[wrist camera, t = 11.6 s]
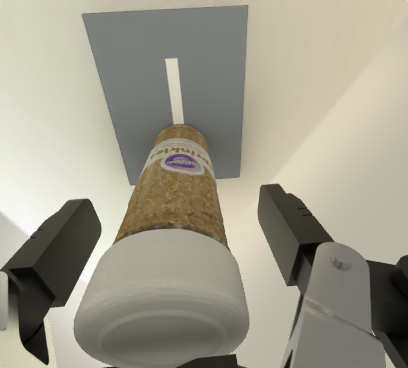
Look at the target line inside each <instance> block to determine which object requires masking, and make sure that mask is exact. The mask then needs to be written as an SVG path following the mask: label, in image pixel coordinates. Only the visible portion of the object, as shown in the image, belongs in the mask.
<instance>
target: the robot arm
mask: <svg viewBox="0 0 408 368" xmlns="http://www.w3.org/2000/svg"><path fill="white" fill-rule="evenodd" d="M258 220H259V223H260V226H261V228H262V230H263V232H264V235H265V237H266V239H267V242H268V243H269V246H270V248H271V251H272V253H273V255H274V257H275V260H276V262H277V264H278V266H279V269H280V271H281V273H282V276H283V278H284V280H285V283H286V285H287V286H296V285H297V286H298V288H299V290H300V292H301V293H300V296H299V300H298V304H297V308H296V312H295V316H294V320H293V323H292V327H291V332H290V335H289V339H288V344H287V347H286V350H285V353H284V356H283V360H282V363H281V367H280V368H386V362H385V352H384V350H385V351H386V353H387V354H388V356H389V358H390V359H391V361H392V363H393V364H394V366H395V367H396V368H408V255H406V256H403V257H401V258H400V260H399V261H398V262H397V264H396V265H392V264H386V263H381V262H374V261H369V260H365V259H364V258H363V257H362V256H361V255H360V254H359V253H358V252H357V251H355V250H354V249H352V248H350V247H348V246H346V245H343V244H340V243H336V242H334V241H333V239H332V238H331V237H330V236H329V234H328V233H327V232H326V230H324V228H323V227H322V225H321V224H320V223H319V222H318V221H317V219H316V218H315V217H314V216H312V213H311V212H310V211H309V209H307V207H306V206H305V204H304V203H303V202H302V201H301V200H300V199H299V198H297V197H296V196H294V195H293V194H291V193H288V194H286V193H285V191H284V190H283V189H282V187H281V186H280V185H279V184H267V185H261V188H260V195H259V204H258ZM100 235H101V223H100V221H99V218H98V216H97V214H96V212H95V209H94V207H93V205H92V203H91V201H90V200H89V199H75V200H68V201H67V202H66V203H65V204H64V205H63V207H62V208H61V209H60V210H59V211H58V212H56V213H55V214H54V215H52V216H51V217H49V218H48V219H46V220H45V221H44V222H43V223H42V225H41V226H40V227H39V228H38V229H37V231H35V232H34V233H33V234H32V236H31V237H30V239H28V240H27V241H26V242H25V243H24V244H23V246H22V247H21V248H20V249H19V250H18V251H17V252H16V253H15V254H14V256H13V257H12V258H11V259H10V260H9V261H8V262H7V263H6V265H4V267H3V268H2V269H1V270H0V368H57V364H56V358H55V352H54V346H53V340H52V335H51V328H50V322H49V318H48V317H47V316H46V314H47V312H48V311H49V309H50V308H53V307H62V306H65V304H66V302H67V300H68V299H69V296H70V295H71V293H72V291H73V289H74V287H75V284H76V283H77V281H78V279H79V277H80V275H81V273H82V271H83V269H84V267H85V265H86V263H87V261H88V259H89V257H90V255H91V253H92V251H93V249H94V247H95V245H96V244H97V242H98V240H99V238H100ZM372 330H373V332H374V334H375V335H376V336H374V335H373V334H372ZM106 368H119V367H106ZM176 368H246V367H243V366H239V365H237V358H236V354H231V355H222V356H212V357H202V358H196V359H194V360H191V361H189V362H187V363H185V364H183V365H180V366H178V367H176Z"/></svg>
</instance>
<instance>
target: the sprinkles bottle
mask: <svg viewBox="0 0 408 368" xmlns="http://www.w3.org/2000/svg"><path fill="white" fill-rule="evenodd" d="M208 153H209V151H208V144H207V142H206V140H205V137H204V136H203V135H202V134H201V133H200V132H199V131H198V130H196V129H194V128H193V127H191V126H189V125H184V124H177V125H172V126H169V127H167V128H165V129H164V130H162V131H161V132H160V133H159V135H158V136H157V137H156V139H155V142H154V147H153V150H152V151H151V153H150V155H149V157H148V159H147V161H146V164H145V166H144V168H143V170H142V173H141V175H140V177H139V179H138V182H137V184H136V187H135V189H134V191H133V193H132V196H131V198H130V201H129V204H128V210H127V212H126V214H125V217H124V220H123V222H122V224H121V226H120V229H119V231H118V234H117V236H116V238H115V241H114V243H113V245H112V246H111V247H110V248H109V249H108V250H107V251H106V252H105V253H104V255H103V256H102V257H101V258H100V260H99V262H98V264H97V266H96V269H95V271H94V273H93V275H92V277H91V280H90V282H89V284H88V286H87V289H86V291H85V293H84V296H83V298H82V301H81V303H80V306H79V308H78V311H77V313H76V316H75V319H74V335H75V339H76V341H77V342H78V344H79V345H80V347H81V348H82V349H83V350H84V351H85V352H86V353H87V354H89V355H90V356H91V357H93V358H95V359H97V360H99V361H101V362H103V363H106V364H109V365H111V366H114V367H119V368H176V367H178V366H180V365H183V364H185V363H187V362H189V361H191V360H194V359H196V358H202V357H212V356H222V355H228V354H230V353H231V352H233V351H234V350H235V349H236V348H237V347H238V346H239V345H240V344H241V343H242V342H243V340H244V339H245V337H246V335H247V332H248V329H249V312H248V307H247V303H246V297H245V292H244V288H243V283H242V280H241V275H240V271H239V267H238V264H237V261H236V260H235V257H234V256H233V255H232V253H231V251H230V249H229V247H228V244H227V239H226V235H225V229H224V225H223V218H222V215H221V209H220V205H219V199H218V194H217V185H216V180H215V176H214V172H213V167H212V163H211V160H210V157H209V155H208Z"/></svg>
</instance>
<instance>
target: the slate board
mask: <svg viewBox="0 0 408 368" xmlns="http://www.w3.org/2000/svg"><path fill="white" fill-rule="evenodd" d="M247 15H248V5H243V6H223V7H203V8H184V9H164V10H144V11H125V12H105V13H86V14H82V17H83V21H84V24H85V28H86V31H87V35H88V38H89V42H90V45H91V49H92V52H93V56H94V59H95V63H96V66H97V70H98V73H99V77H100V80H101V84H102V87H103V91H104V94H105V98H106V102H107V105H108V109H109V112H110V116H111V119H112V123H113V126H114V130H115V133H116V137H117V140H118V144H119V147H120V151H121V154H122V158H123V161H124V165H125V168H126V172H127V175H128V179H129V182H130V185H136V184H137V182H138V179H139V177H140V175H141V173H142V170H143V168H144V166H145V164H146V161H147V159H148V157H149V155H150V153H151V151H152V150H153V147H154V142H155V139H156V137H157V136H158V135H159V133H160V132H161V131H162V130H164V129H165V128H167V127H169V126H172V125H177V124H184V125H189V126H191V127H193V128H194V129H196V130H198V131H199V132H200V133H201V134H202V135H203V136H204V137H205V140H206V142H207V144H208V151H209V153H208V155H209V157H210V160H211V163H212V167H213V172H214V176H215V179H223V178H236V177H240V160H241V139H242V118H243V98H244V77H245V57H246V36H247Z"/></svg>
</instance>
